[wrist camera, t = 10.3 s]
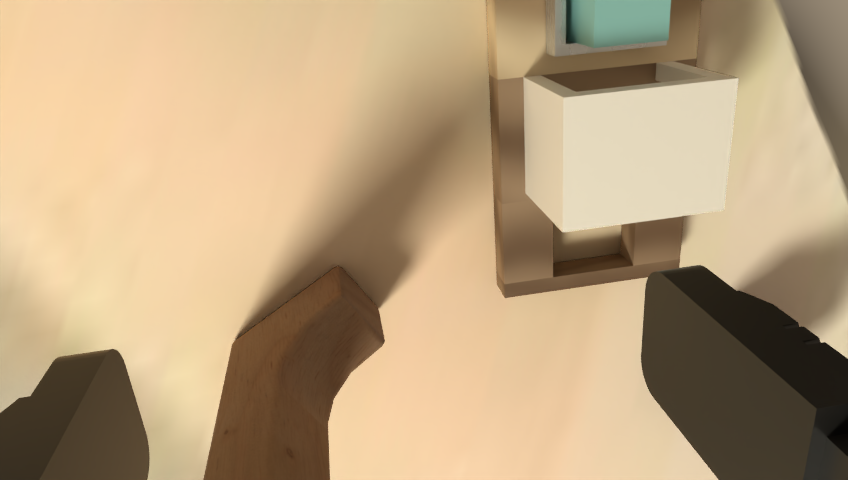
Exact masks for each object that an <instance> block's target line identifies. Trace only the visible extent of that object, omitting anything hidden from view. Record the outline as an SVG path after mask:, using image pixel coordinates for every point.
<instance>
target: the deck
mask: <svg viewBox="0 0 848 480" xmlns="http://www.w3.org/2000/svg"><path fill="white" fill-rule="evenodd" d="M701 1H702V0H671V8H670V23H669V38H668V40H667V45H663V46H654V47H644V48H635V49H625V50H615V51H606V52H596V53H587V54H577V55H567V56H558V57H554V56H551V55H549V54H546V0H486V6H487V33H488V59H489V85H490V112H491V138H492V165H493V191H494V218H495V244H496V270H497V285H498V287H499V289H500V290H501V292H502V294H503V295H504V297H505V298H508V297H515V296H522V295H529V294H535V293H542V292H549V291H556V290H563V289H570V288H576V287H583V286H590V285H597V284H604V283H611V282H617V281H624V280H631V279H638V278H645V277H649V275H650V274H651V273H652V272H656V271H662V270H669V269H676V268H679V263H680V251H681V239H682V227H683V216H681V217H673V218H666V219H659V220H651V221H644V222H636V223H629V224H622V229H621V252H620V254H614V255H607V256H600V257H593V258H586V259H579V260H572V261H565V262H558V263H553V222H552V221H551V220H550V219H549V218H548V217H547V216H546V214H545V213H544V212H543V211H542V210H541V209H540V208H539V207H538V206H537V205H536V204H535V203H534V202H533V201H532V200H531V199H530V198H529V197H528V195H527V194H526V193H525V137H524V80H523V77H529V76H538V75H541V76H543V77H545V78H547V79H550V80H552V81H554V82H556V83H558V84H560V85H562V86H564V87H567V88H569V89H571V90H573V91H575V92H579V91H588V90H597V89H606V88H615V87H624V86H633V85H642V84H651V83H660V82H659V81H656V80H655V78H656V63H659V62H668V61H674V62H678V63H682V64H686V65H690V66H694V67H696V61H697V49H698V37H699V25H700V13H701Z"/></svg>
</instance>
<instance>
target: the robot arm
mask: <svg viewBox="0 0 848 480" xmlns="http://www.w3.org/2000/svg"><path fill="white" fill-rule="evenodd" d="M641 363H642V370H643V375H644V378H645V382H646V384H647V387H648V389H649V391H650V393H651V395H652V396H653V397H654V399H655V400H656V401H657V403H658V404H659V405H660V406H661V408H662V409H663V410H664V411H665V413H666V414H667V415H668V416H669V418H670V419H671V420H672V421H673V423H674V424H675V425H676V426H677V428H678V429H679V430H680V431H681V433H682V434H683V435H684V437H685V438H686V439H687V440H688V442H689V443H690V444H691V445H692V447H693V448H694V449H695V450H696V452H697V453H698V454H699V455H700V457H701V458H702V459H703V460H704V462H705V463H706V464H707V465H708V467H709V468H710V469H711V470H712V472H713V473H714V474H715V475H716V477H717V478H718V479H719V480H848V359H847V358H846V357H844V356H843V355H842V354H840V353H839V352H838V351H836V350H835V349H833V348H832V347H831V346H829V345H828V344H827V343H825V342H824V343H821V342H820V340H819V338H818V337H817V336H816V335H814V334H813V333H812V332H810V331H809V330H807V329H806V328H805V327H799V325H798V322H796V321H795V320H794V319H792V318H791V317H790V316H788V315H787V314H785V313H784V312H783V311H781V310H780V309H779V308H777V307H776V306H775V305H773V304H771V303H768V302H766V301H763V300H761V299H758V298H756V297H754V296H751V295H749V294H746V293H744V292H741V291H736V290H734V289H733V288H732V287H730V286H729V285H728V284H727V283H725V282H724V281H723V280H721V279H720V278H719V277H717V276H716V275H715V274H713V273H712V272H711V271H709V270H708V269H707V268H705V267H704V266H701V265H697V266H690V267H683V268H676V269H669V270H662V271H656V272H652V273H651V274H650V275H649V277H648V279H647V283H646V289H645V304H644V320H643V336H642V352H641ZM148 472H149V445H148V439H147V435H146V431H145V428H144V425H143V422H142V418H141V415H140V412H139V408H138V405H137V402H136V399H135V395H134V392H133V389H132V385H131V382H130V379H129V376H128V372H127V369H126V366H125V363H124V360H123V358H122V356H121V355H120V353H119V352H118V351H117V350H115V349H110V350H103V351H96V352H90V353H83V354H76V355H69V356H62V357H58V358H57V359H55V360H54V361H53V363H52V364H51V366H50V367H49V369H48V370H47V372H46V373H45V375H44V376H43V378H42V379H41V381H40V382H39V384H38V386H37V387H36V389H35V390H34V392H33V393H32V395H31V396H30V397H23V398H19V399H17V400H16V401H15V402H14V403H12V404H11V405H10V406H9V407H7V408H6V409H5V410H4V411H2V412H1V413H0V480H147V478H148Z"/></svg>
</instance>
